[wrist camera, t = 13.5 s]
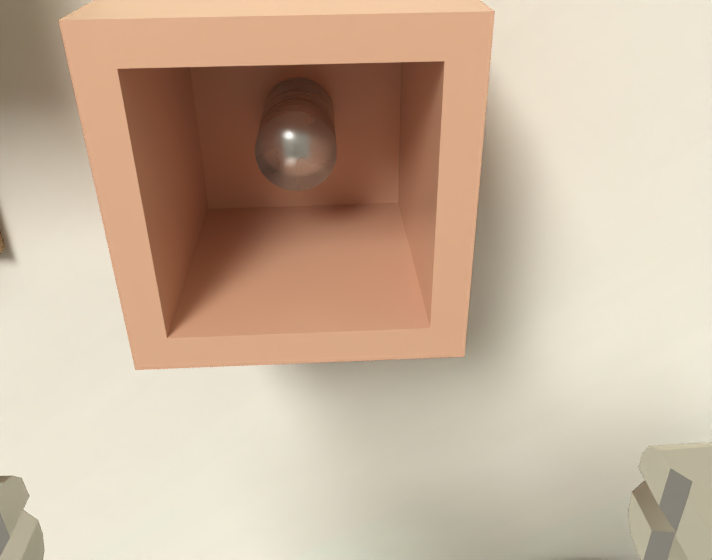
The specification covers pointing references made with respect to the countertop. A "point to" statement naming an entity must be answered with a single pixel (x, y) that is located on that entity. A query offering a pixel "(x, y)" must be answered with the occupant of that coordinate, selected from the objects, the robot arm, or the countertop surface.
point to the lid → (1, 243)
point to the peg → (296, 135)
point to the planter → (277, 205)
